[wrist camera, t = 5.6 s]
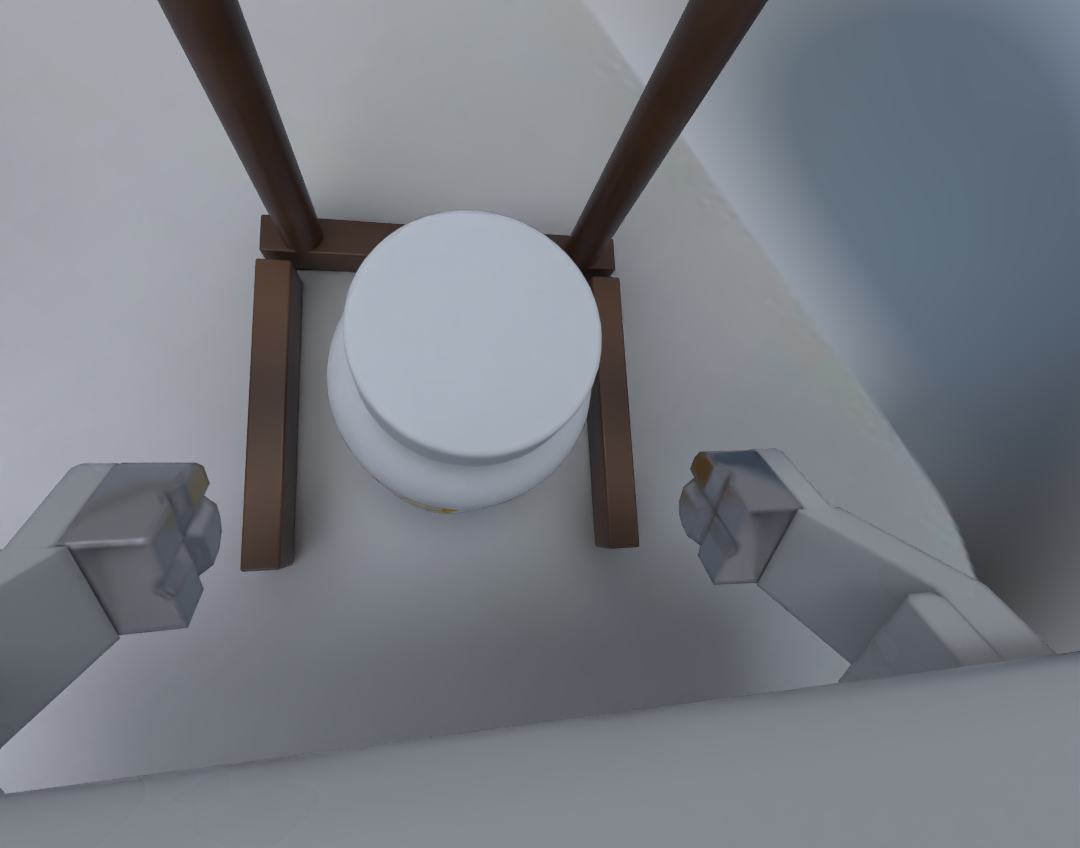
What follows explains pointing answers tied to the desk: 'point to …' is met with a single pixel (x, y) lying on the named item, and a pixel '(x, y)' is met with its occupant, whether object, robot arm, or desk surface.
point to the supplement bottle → (464, 360)
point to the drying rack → (325, 244)
